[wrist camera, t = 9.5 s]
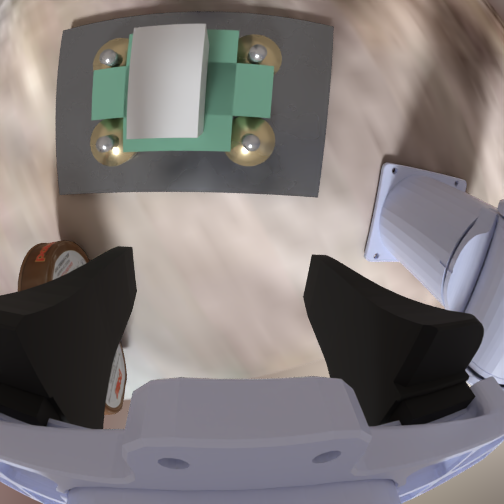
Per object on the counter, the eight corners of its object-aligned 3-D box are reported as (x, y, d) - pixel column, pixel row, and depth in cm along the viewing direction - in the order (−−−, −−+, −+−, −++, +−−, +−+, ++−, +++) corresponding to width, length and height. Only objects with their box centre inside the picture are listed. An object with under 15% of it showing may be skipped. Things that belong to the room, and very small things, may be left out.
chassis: (328, 30, 15) (352, 14, 11) (313, 193, 20) (333, 211, 17) (69, 33, 13) (41, 21, 9) (65, 191, 18) (38, 208, 14)
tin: (54, 226, 19) (-6, 281, 12) (86, 220, 19) (28, 277, 12) (110, 365, 26) (90, 432, 18) (138, 364, 26) (123, 436, 18)
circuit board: (274, 37, 13) (293, 11, 9) (265, 152, 16) (281, 165, 12) (102, 41, 12) (65, 23, 8) (97, 152, 15) (58, 167, 11)
